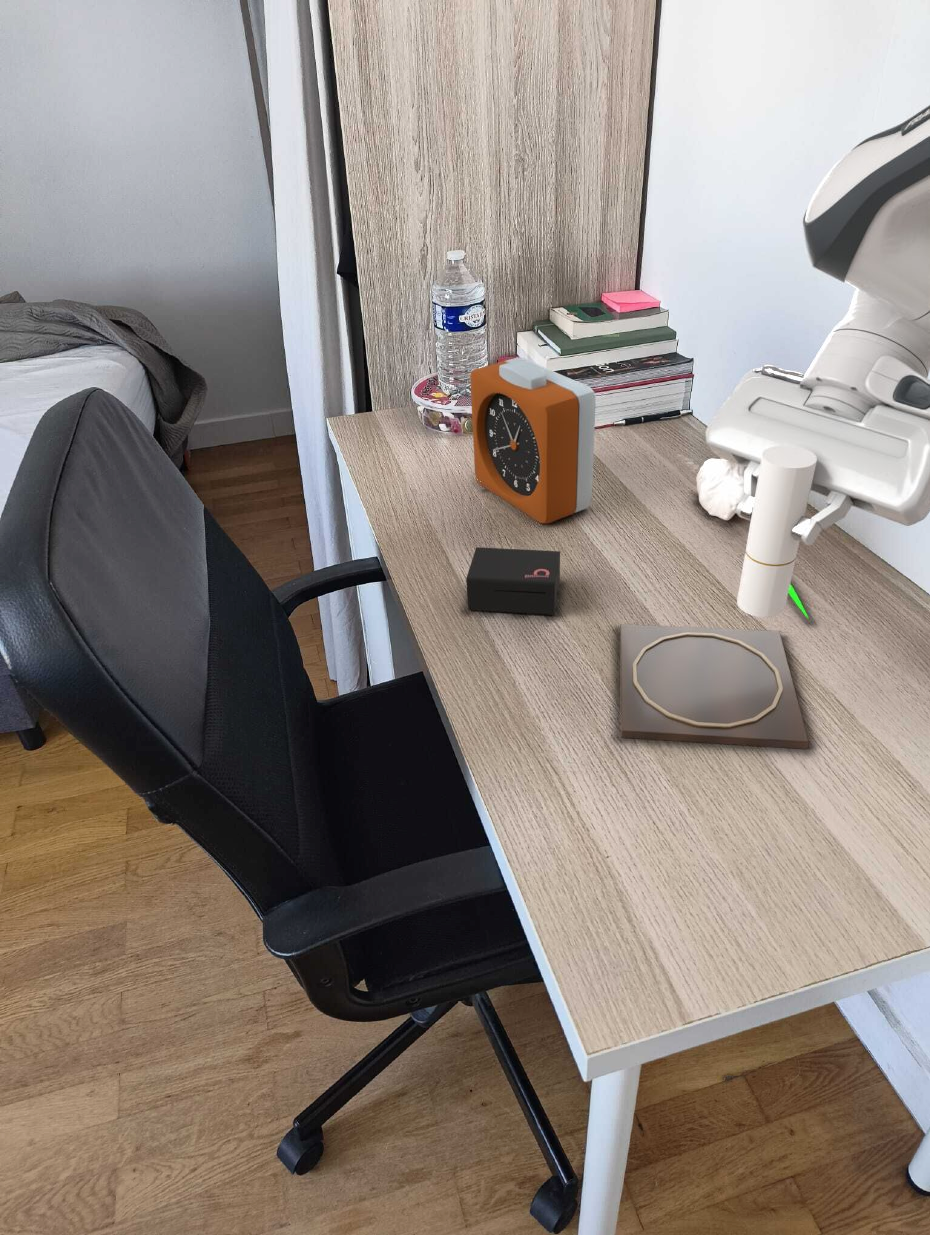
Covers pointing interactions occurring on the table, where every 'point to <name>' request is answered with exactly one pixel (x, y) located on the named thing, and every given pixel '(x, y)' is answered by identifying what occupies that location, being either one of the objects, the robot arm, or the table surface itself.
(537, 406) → the alarm clock
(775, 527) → the tube
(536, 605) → the electronic device
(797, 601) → the leaf
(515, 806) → the table surface
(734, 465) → the white tied bag
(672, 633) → the board
